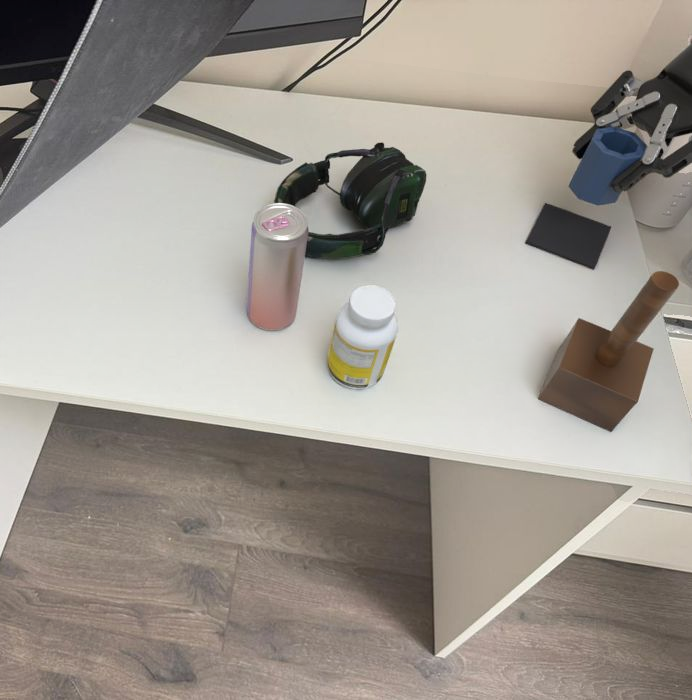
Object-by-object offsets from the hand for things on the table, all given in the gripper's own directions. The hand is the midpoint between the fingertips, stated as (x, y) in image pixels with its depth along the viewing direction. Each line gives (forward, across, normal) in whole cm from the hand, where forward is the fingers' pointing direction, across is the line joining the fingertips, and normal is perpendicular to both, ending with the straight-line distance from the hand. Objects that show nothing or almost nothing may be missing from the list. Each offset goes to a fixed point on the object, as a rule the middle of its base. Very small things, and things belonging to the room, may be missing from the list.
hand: (594, 171), depth 85 cm
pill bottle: (+33, +8, -17) cm, 38 cm away
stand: (+17, +20, -2) cm, 27 cm away
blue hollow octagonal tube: (+1, 0, +4) cm, 4 cm away
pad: (+7, 0, +9) cm, 11 cm away
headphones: (+26, -13, -10) cm, 30 cm away
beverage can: (+37, -3, -21) cm, 43 cm away
